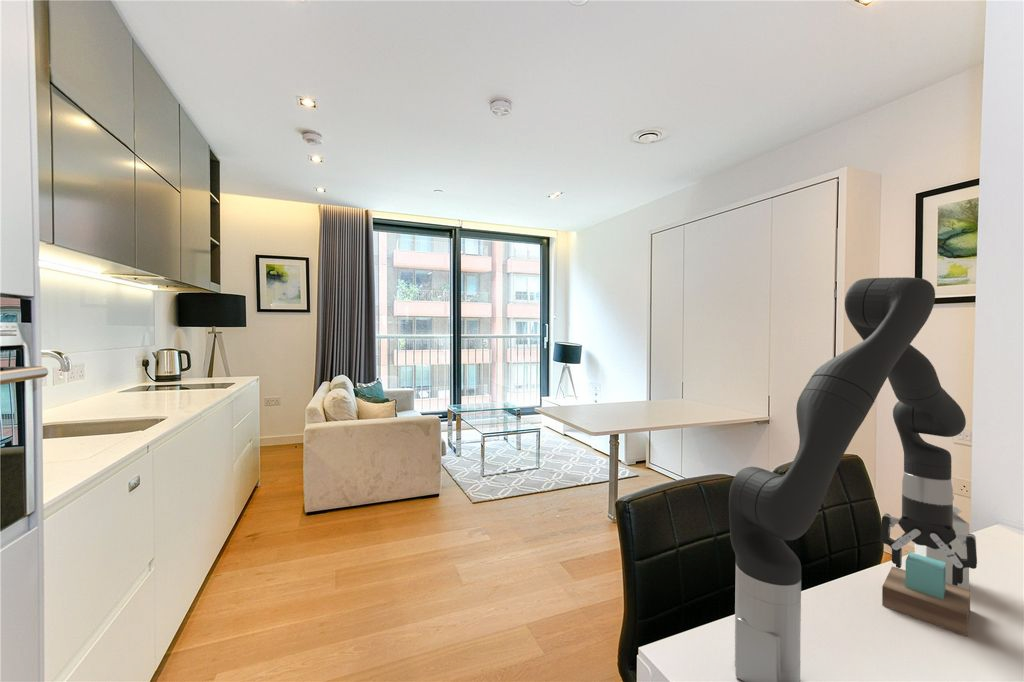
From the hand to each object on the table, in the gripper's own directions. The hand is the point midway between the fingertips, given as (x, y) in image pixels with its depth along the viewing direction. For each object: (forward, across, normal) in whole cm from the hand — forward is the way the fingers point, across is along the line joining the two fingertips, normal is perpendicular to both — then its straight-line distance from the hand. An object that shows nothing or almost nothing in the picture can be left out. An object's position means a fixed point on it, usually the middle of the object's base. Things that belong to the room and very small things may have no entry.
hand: (926, 574), depth 87 cm
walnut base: (+7, 0, 0) cm, 7 cm away
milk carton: (+7, +1, +17) cm, 18 cm away
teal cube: (+3, 0, 0) cm, 3 cm away
